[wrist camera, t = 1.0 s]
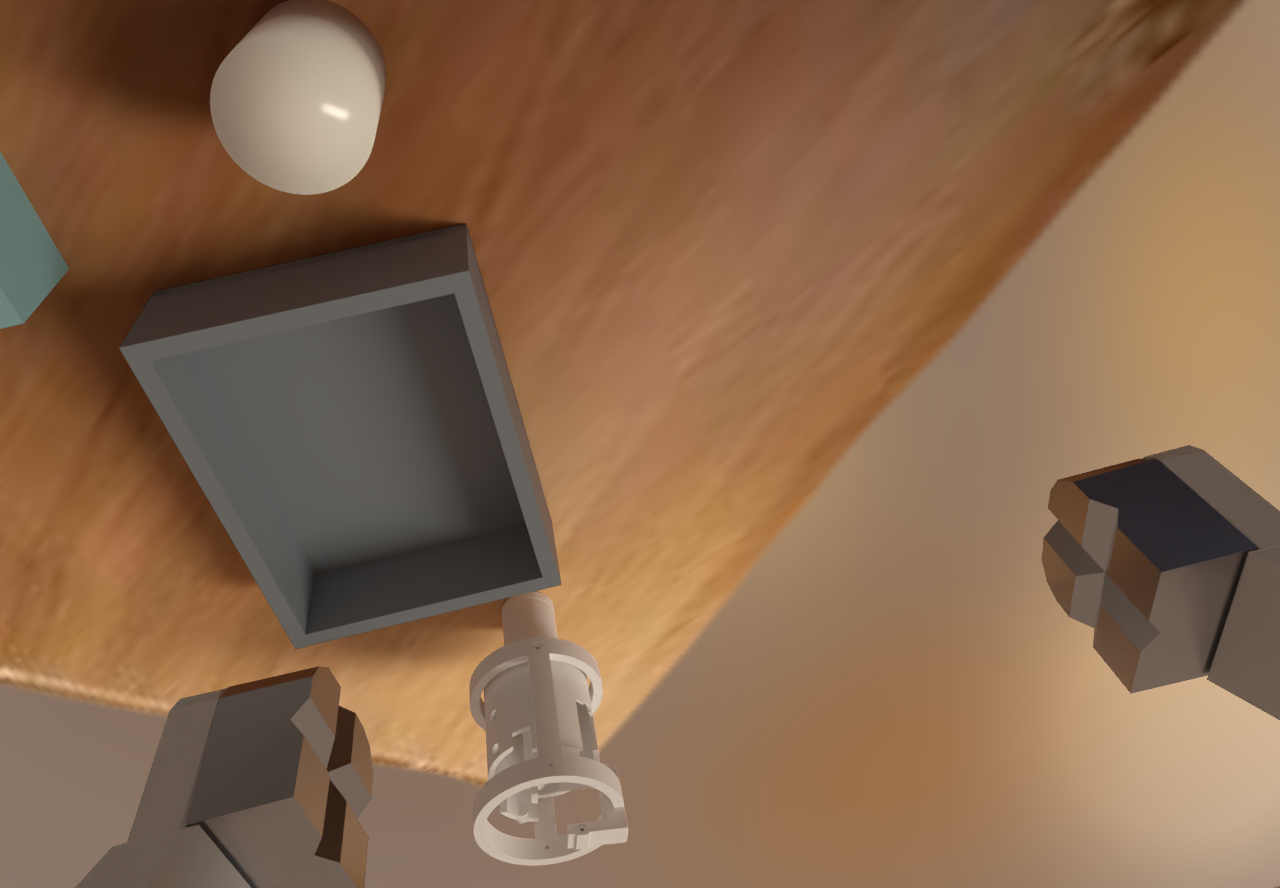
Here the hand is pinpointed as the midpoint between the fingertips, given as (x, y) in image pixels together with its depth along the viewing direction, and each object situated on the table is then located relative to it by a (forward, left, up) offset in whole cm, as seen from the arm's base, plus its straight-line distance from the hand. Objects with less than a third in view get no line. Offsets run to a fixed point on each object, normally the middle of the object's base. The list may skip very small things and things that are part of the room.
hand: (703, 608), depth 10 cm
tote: (+15, -11, -31) cm, 36 cm away
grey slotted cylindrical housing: (+30, -7, -31) cm, 44 cm away
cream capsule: (-1, -8, -31) cm, 32 cm away
